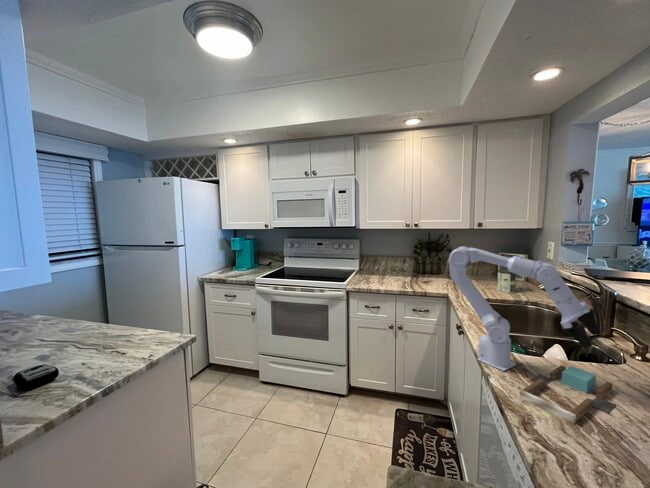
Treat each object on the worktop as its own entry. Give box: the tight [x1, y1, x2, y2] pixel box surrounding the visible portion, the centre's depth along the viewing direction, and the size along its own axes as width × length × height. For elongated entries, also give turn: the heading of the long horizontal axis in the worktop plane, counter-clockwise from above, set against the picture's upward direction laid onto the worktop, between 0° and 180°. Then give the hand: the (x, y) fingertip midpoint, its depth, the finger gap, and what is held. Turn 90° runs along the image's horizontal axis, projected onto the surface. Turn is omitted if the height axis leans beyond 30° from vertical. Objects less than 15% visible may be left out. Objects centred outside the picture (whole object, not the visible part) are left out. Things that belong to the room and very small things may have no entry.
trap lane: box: [519, 364, 617, 425], centre depth 82 cm, size 18×26×2 cm
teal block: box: [561, 366, 597, 394], centre depth 86 cm, size 6×6×4 cm
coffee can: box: [496, 268, 517, 294], centre depth 187 cm, size 10×10×14 cm
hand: (592, 339), depth 85 cm, fingers open, 7 cm apart
